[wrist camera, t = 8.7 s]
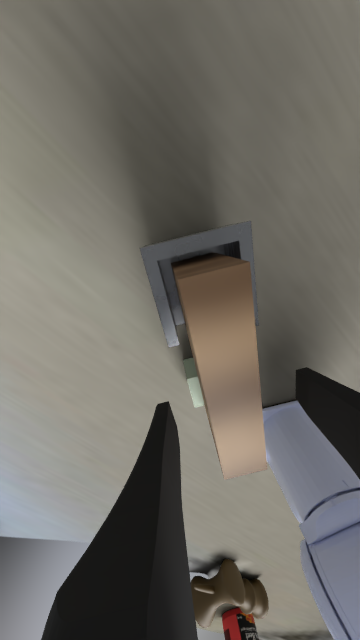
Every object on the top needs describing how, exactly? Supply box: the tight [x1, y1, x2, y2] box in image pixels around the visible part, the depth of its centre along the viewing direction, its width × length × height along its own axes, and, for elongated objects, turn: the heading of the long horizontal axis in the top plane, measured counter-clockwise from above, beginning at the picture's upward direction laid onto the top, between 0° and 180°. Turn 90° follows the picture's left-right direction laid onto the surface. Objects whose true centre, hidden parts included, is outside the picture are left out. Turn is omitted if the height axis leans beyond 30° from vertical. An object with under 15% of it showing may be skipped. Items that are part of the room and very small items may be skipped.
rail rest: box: [183, 358, 205, 408], centre depth 19 cm, size 4×5×3 cm
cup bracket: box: [140, 221, 259, 347], centre depth 14 cm, size 6×6×6 cm
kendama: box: [191, 559, 269, 628], centre depth 39 cm, size 6×10×20 cm
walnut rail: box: [171, 252, 267, 480], centre depth 14 cm, size 14×3×6 cm, turn 13°
